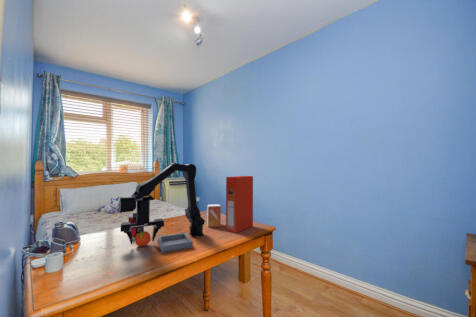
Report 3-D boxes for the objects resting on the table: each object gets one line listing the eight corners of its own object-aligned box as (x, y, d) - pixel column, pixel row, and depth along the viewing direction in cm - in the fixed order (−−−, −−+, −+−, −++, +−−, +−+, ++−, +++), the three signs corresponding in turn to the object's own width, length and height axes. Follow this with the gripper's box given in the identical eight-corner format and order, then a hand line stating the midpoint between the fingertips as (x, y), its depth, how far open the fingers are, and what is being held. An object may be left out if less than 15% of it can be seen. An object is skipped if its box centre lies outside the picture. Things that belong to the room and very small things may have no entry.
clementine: (148, 249, 98) (148, 233, 98) (132, 250, 97) (132, 234, 97) (151, 242, 106) (151, 228, 106) (136, 243, 105) (137, 229, 105)
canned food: (137, 237, 113) (138, 217, 113) (124, 236, 114) (125, 216, 115) (146, 233, 120) (147, 213, 121) (134, 232, 122) (134, 212, 122)
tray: (185, 238, 113) (185, 232, 113) (192, 247, 101) (192, 241, 101) (157, 242, 107) (157, 236, 107) (161, 253, 94) (161, 246, 94)
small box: (207, 227, 133) (208, 206, 133) (207, 224, 139) (207, 204, 139) (220, 226, 134) (221, 205, 135) (219, 223, 141) (219, 203, 141)
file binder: (225, 230, 126) (226, 176, 127) (242, 224, 140) (243, 175, 141) (236, 233, 121) (236, 177, 122) (252, 226, 135) (253, 176, 136)
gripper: (161, 205, 113) (160, 234, 113) (121, 208, 105) (120, 240, 104) (164, 209, 104) (164, 241, 103) (120, 213, 95) (120, 248, 94)
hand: (142, 242), depth 102 cm, fingers open, 9 cm apart
